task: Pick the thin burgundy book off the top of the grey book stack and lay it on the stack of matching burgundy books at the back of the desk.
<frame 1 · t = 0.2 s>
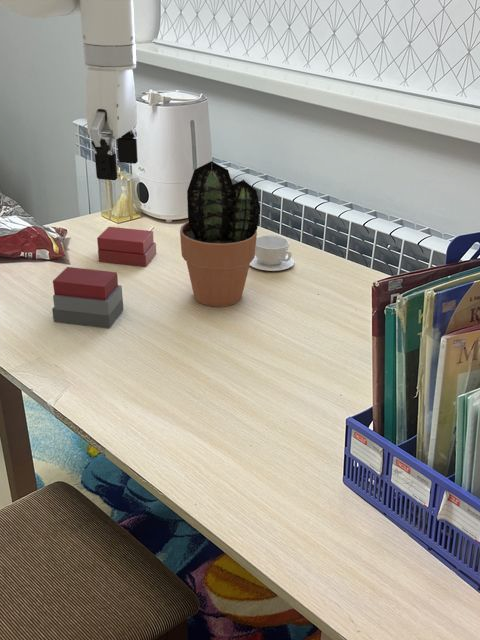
hand: (118, 170, 112), 25 cm above the table, tool pointing down, fingers open, 9 cm apart
burgundy book: (86, 289, 118), point 5 cm above the table, touching grey book stack
burgundy book stack: (128, 257, 143), on the table
potted plant: (218, 297, 129), on the table
grey book stack: (89, 315, 120), on the table
teacup: (270, 263, 144), on the table
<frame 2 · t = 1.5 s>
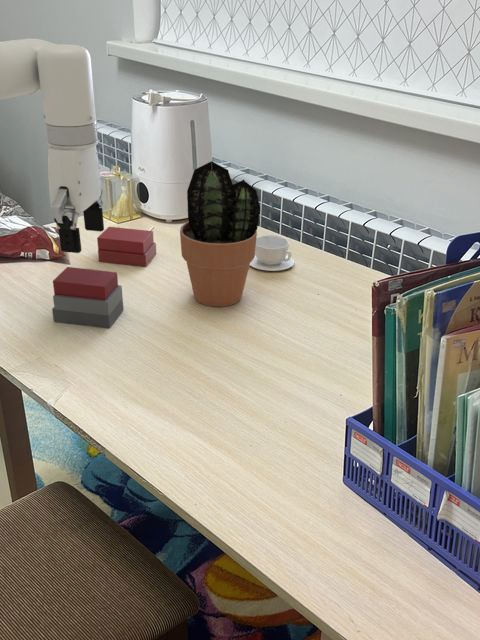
hand: (83, 240, 113), 14 cm above the table, tool pointing down, fingers open, 9 cm apart
nothing on the table moved.
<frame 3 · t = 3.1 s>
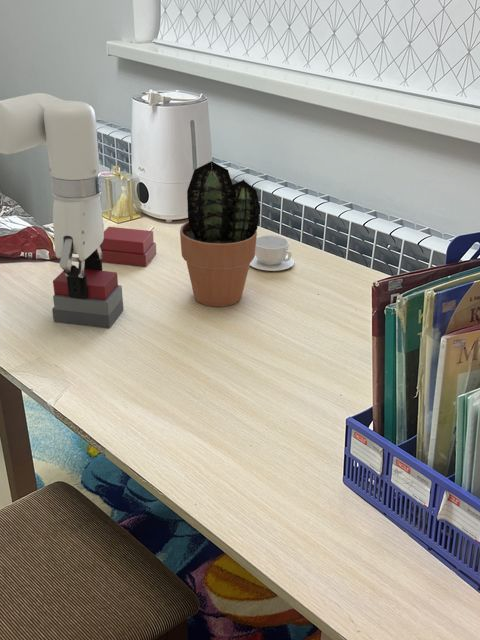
hand: (86, 287, 118), 5 cm above the table, tool pointing down, fingers closed on burgundy book, 6 cm apart
burgundy book: (86, 289, 118), point 5 cm above the table, touching grey book stack, gripper
everything else where it was.
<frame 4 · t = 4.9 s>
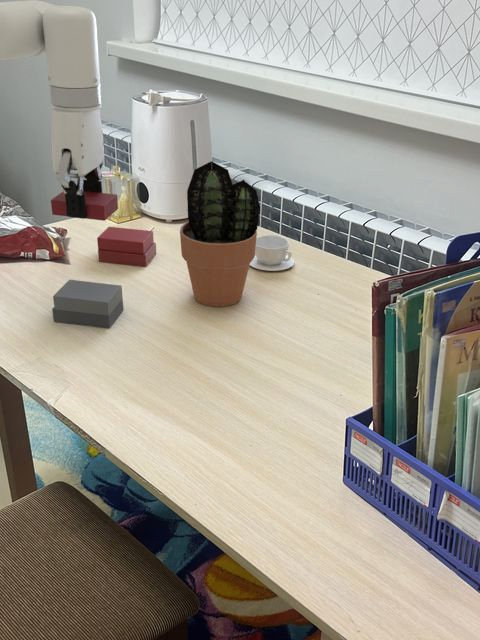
hand: (85, 209, 114), 18 cm above the table, tool pointing down, fingers closed on burgundy book, 6 cm apart
burgundy book: (85, 211, 115), point 18 cm above the table, touching gripper
everything else where it was.
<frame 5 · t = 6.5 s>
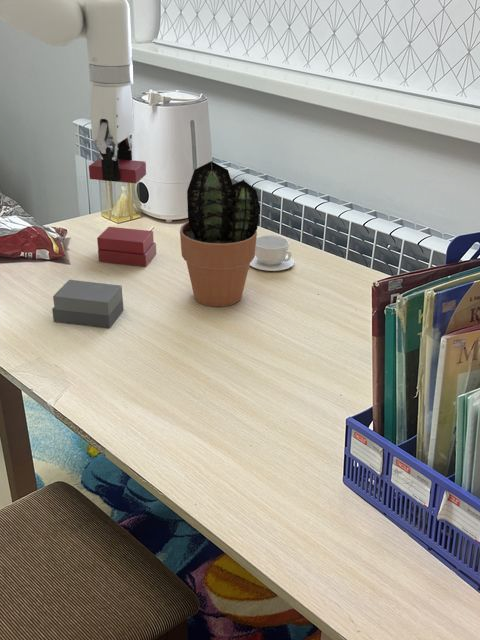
hand: (118, 174, 131), 18 cm above the table, tool pointing down, fingers closed on burgundy book, 6 cm apart
burgundy book: (118, 176, 131), point 18 cm above the table, touching gripper
everything else where it was.
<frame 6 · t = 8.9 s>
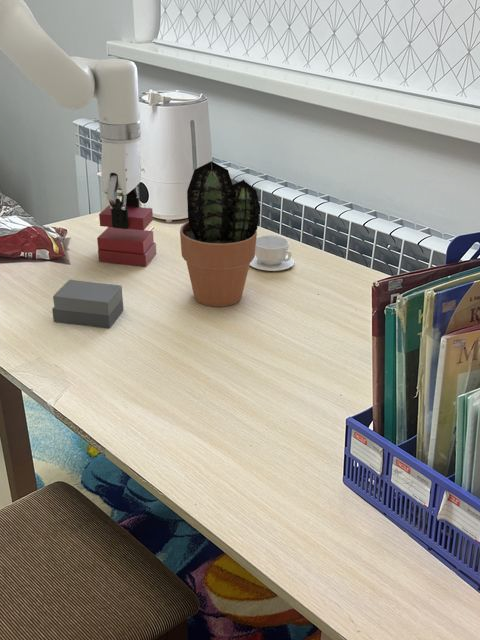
hand: (126, 221, 139), 8 cm above the table, tool pointing down, fingers closed on burgundy book, 6 cm apart
burgundy book: (126, 223, 139), point 7 cm above the table, touching gripper
everything else where it was.
when the fingers open (5 cm above the table, at t = 10.2 s): burgundy book stays where it is, resting on burgundy book stack.
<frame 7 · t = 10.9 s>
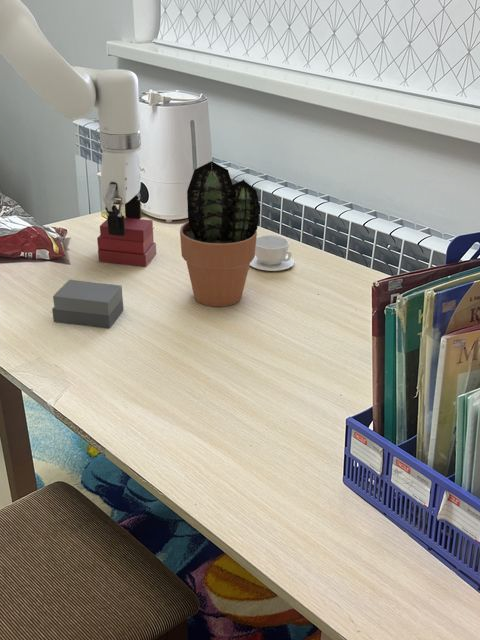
hand: (125, 226, 139), 7 cm above the table, tool pointing down, fingers open, 9 cm apart
burgundy book: (127, 234, 140), point 5 cm above the table, touching burgundy book stack
everything else where it was.
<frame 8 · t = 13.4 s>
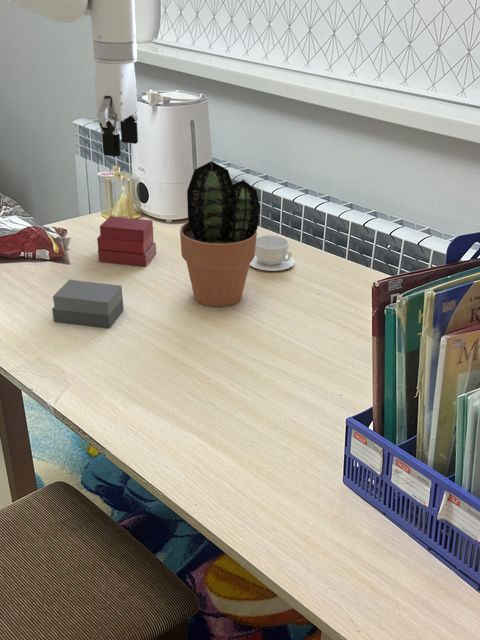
hand: (121, 149, 132), 22 cm above the table, tool pointing down, fingers open, 9 cm apart
nothing on the table moved.
at the end: burgundy book 0.1 cm off-centre on the burgundy book stack, point 5.0 cm above the burgundy book stack's base; burgundy book tilted 0° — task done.
